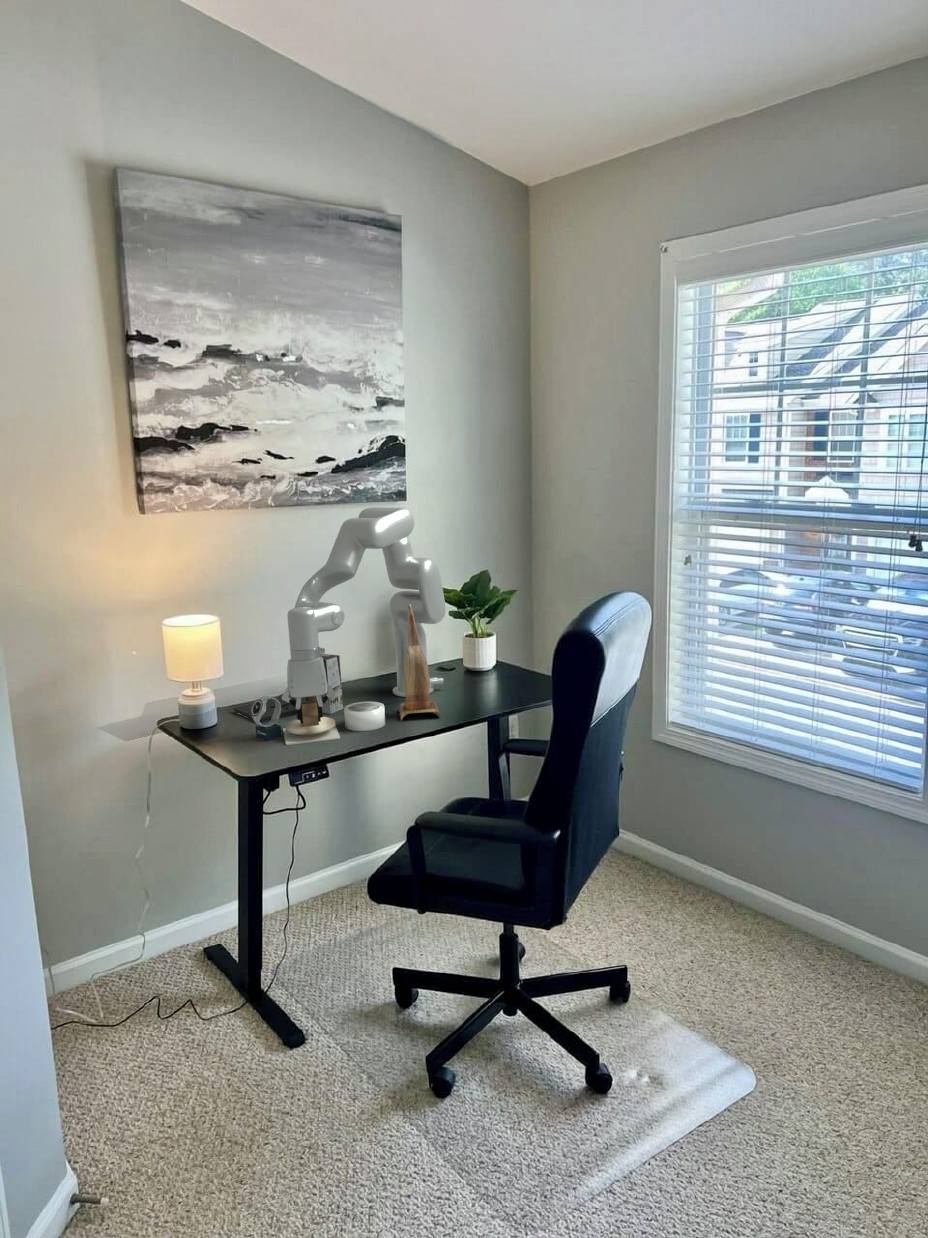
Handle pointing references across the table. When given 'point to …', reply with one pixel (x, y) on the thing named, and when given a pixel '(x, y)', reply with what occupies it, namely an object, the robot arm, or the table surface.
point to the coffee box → (332, 684)
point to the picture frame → (270, 709)
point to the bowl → (364, 716)
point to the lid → (310, 720)
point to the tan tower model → (416, 675)
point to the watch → (270, 728)
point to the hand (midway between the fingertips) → (310, 720)
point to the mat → (310, 737)
